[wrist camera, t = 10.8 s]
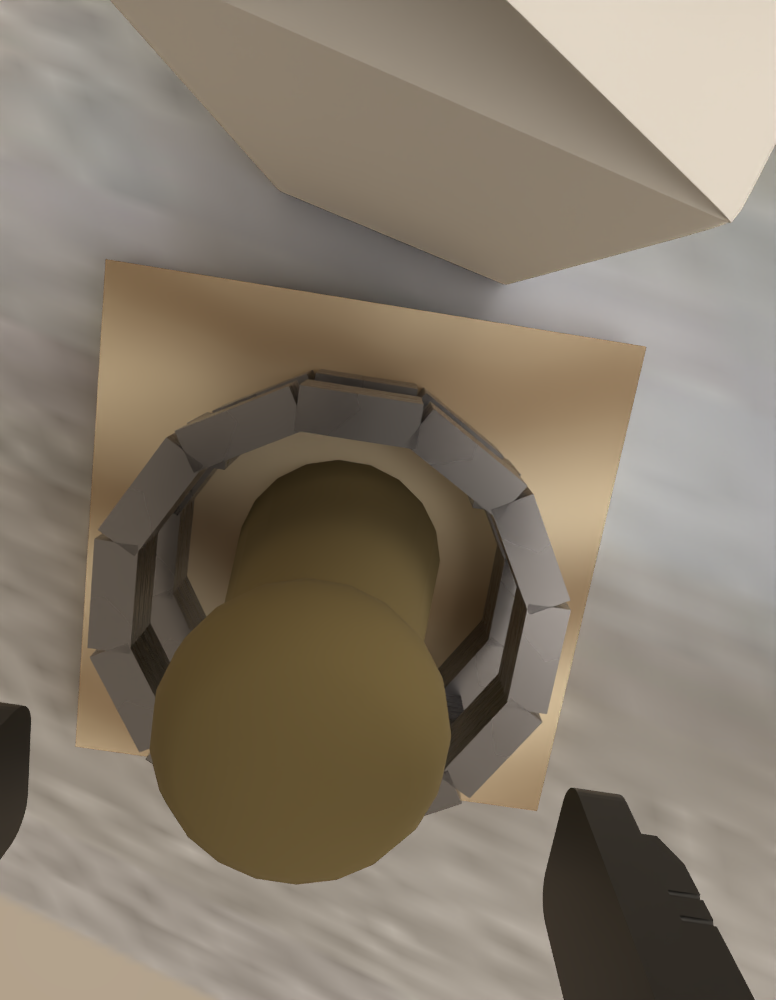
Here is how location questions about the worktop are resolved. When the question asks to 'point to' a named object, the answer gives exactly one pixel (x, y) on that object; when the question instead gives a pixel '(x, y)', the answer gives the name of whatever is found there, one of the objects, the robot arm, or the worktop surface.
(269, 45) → the milk carton
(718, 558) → the worktop surface
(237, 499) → the birch board
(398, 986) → the worktop surface
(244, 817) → the olive rounded tall piece
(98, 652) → the iron collars
